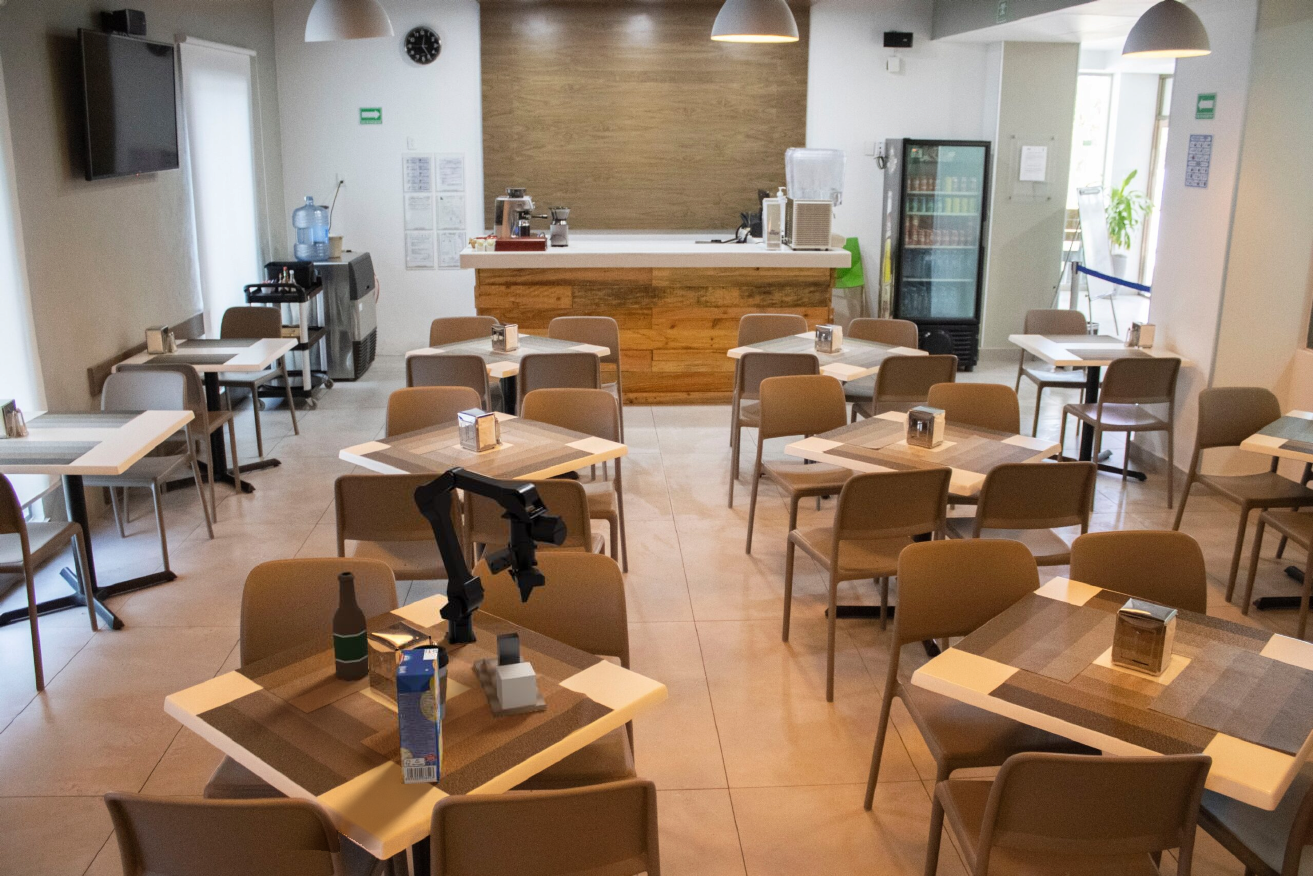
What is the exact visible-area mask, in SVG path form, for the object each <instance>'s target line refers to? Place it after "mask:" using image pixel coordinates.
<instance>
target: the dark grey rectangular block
mask: <svg viewBox="0 0 1313 876" xmlns="http://www.w3.org/2000/svg"><path fill="white" fill-rule="evenodd" d="M496 648H497V651H496V652H497V658H498V666H504V665H511V664H518V663H520V654H521V653H520V652H521V651H520V636H519V634H518V632H512V633H511V632H510V633H504V634H498V635H497V634H496Z"/></svg>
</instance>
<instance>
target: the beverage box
mask: <svg viewBox="0 0 1313 876" xmlns="http://www.w3.org/2000/svg"><path fill="white" fill-rule="evenodd" d="M412 649H413V648H412ZM412 649H401V651H400V655H399V660H398V661H399V662H398V665H397V671H396V675H395V682H396V699H397V700H396V701H397V712H398V713H397V714H398V716H397V717H398V718H397V719H398V732H399V733H398V734H399V735H398V736H399V750H400V751H399V752H400V767H401V769H400V770H401V784H402V785H404V784H406V785H407V784H419V783H422V784H423V783H434V782H436V783H437V782H440V780H441V774H442V773H441V772H442V771H441V770H442V762H443V753H444V749H443V728H442V726H443V725H442V720H441V702H440V681H439V660H438V648H433V649H413V650H412Z"/></svg>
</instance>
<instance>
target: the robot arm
mask: <svg viewBox="0 0 1313 876" xmlns="http://www.w3.org/2000/svg"><path fill="white" fill-rule="evenodd" d="M456 489H458V490H462V491H464V492H468V493H471V494H474V495H477V496H481V497H483V498H487V499H490V500H493V501H495V502H496V503H497V504H498V505H499V506H500V507H501V509H502V508H503V509H504V510H505V511H504V513H502V514H501V515H500V518H501V519H504V520H508V521H509V522H508V523H509V525H508V526H509V539H508V540H507V541H506V542H507V543H506V547H505V548H501V549H499V550H496V551H495V552H492V553H490V554H487V555H486V556H485V557H484V560H485V562H486V564H487V567H488V569H489V571H490V573H491V575H493V576H495V575H498V574H499V573H501V572H503V571H505V570H507V569H508V570H507V572H508V573H509V575H510V576H511V579H512V581H513V583H515V585H516V587H517V590H518V593H519V598H520V600H521V603H523V604H525V603H527V602H528V600H529V598H530V596H531V593H532V592H533V589H534V588H536V587H543V586H546V576H545V575H544V572H542V571H541V569H539V568H536V567H537V566H538V560H537V558H536V550H537V549H538V543H541V544H546V545H552V546H557V547H560V546H562V545H563V544H564V542H566V541H565V540H566V539H567V536H568V535H567V534H568V527H567V525H566V522H565V521H564V520H563V519H562V518H563V516H562V515H561V514H551V513H548V512H549V509H548V507H547V505H546V504H545V502H544V501H543V499H542V498H541V495H540V493H538V490H537V488H536V486H535V485H534V484H533V483H532V482H527V481H518V480H515V481H514V480H513V481H503V480H500V479H496V478H493V477H490V476H487V475H484V474H481V473H477V472H474V471H472V470H471V471H470V470H468V469H465V468H464V467H462V466H455V467H452V468H450V469H447V470H445V471H444V472H443V473H442V474H441V475H439V476H438V477H437V478H435V479H434V480H430V481H429V482H428V481H427V482H426V483H424V484H421V485H419V486H417V487H416V488H415V491H414V492H413V500H414V503H415V504H416V507H417V508H418V511H419V512H420V515H422V516H423V517H424V518H426V519H425V520H427V521H428V522H429V524H430V527H431V530H432V532H433V537H434V539H435V542H436V545H437V548H438V551H439V555H440V557H441V560H442V563H443V566H444V570H445V572H446V576H447V585H446V590H445V591H446V599H447V602H446V603H445V604H444V606H442V607H441V608H440V609H439V610H438V611H439V615H440V617H441V619H442V620H445V621H447V623H448V625H447V626H448V631H446V632H445V636H446V639H447V641H448V644H449V645H457V644H465V643H475V642H477V637H476V635H475V633H474V630H473V613H475V612H476V611H478V610H479V607H480V605H481V604H482V603H483V601H484V599H485V594H484V592H486V590H485V589H484V587H483V585H482V579H481V577H480V576H479V575H477V576H474V575H473V574H471V572H470V571H469V569H468V566H467V564H466V559H465V556H464V554H463V552H462V548H461V545H460V542H459V538H458V535H457V533H456V529H455V526H454V523H453V520H452V517H451V511H452V504H453V500H452V495H451V493H452V492H454V490H456ZM532 507H533V508H532ZM531 508H532V509H531ZM529 509H531V510H529ZM527 510H528V511H527ZM509 568H510V569H509Z"/></svg>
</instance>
